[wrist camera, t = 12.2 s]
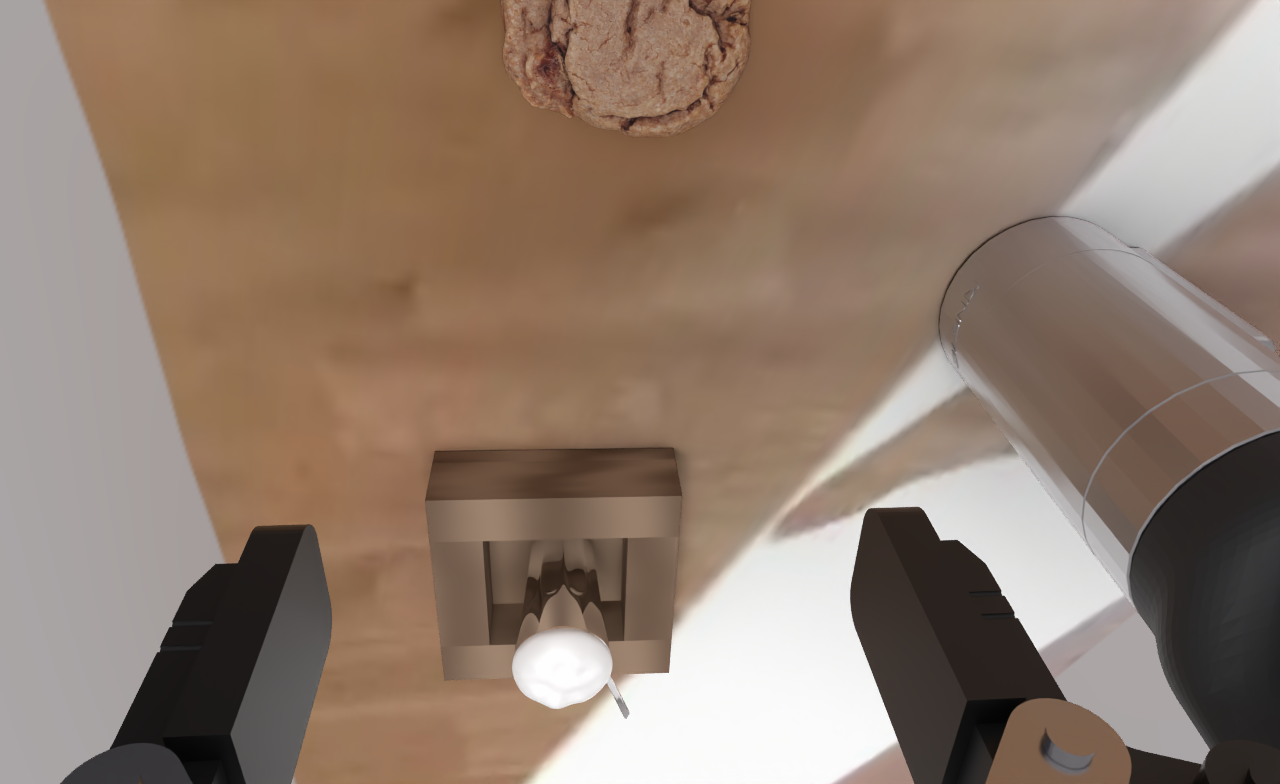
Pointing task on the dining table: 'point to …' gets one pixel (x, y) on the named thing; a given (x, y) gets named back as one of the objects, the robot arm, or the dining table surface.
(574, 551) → the milkshake
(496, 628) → the socket block
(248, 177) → the dining table surface
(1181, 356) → the robot arm
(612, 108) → the cookie
